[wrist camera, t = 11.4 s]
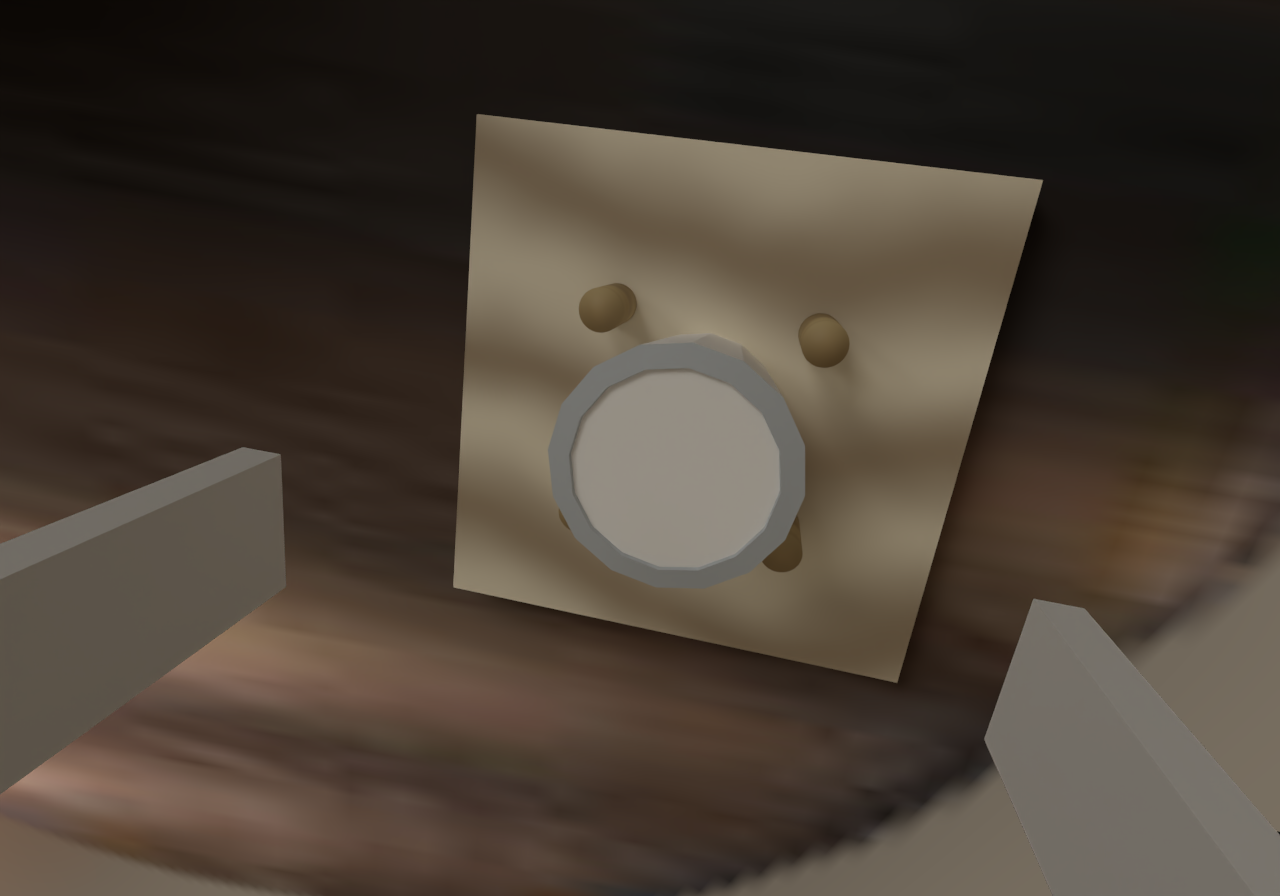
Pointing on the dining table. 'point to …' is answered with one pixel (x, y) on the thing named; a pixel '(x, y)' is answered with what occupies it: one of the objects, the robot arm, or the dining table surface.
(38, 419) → the dining table surface
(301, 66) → the dining table surface
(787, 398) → the pin board
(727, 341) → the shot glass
